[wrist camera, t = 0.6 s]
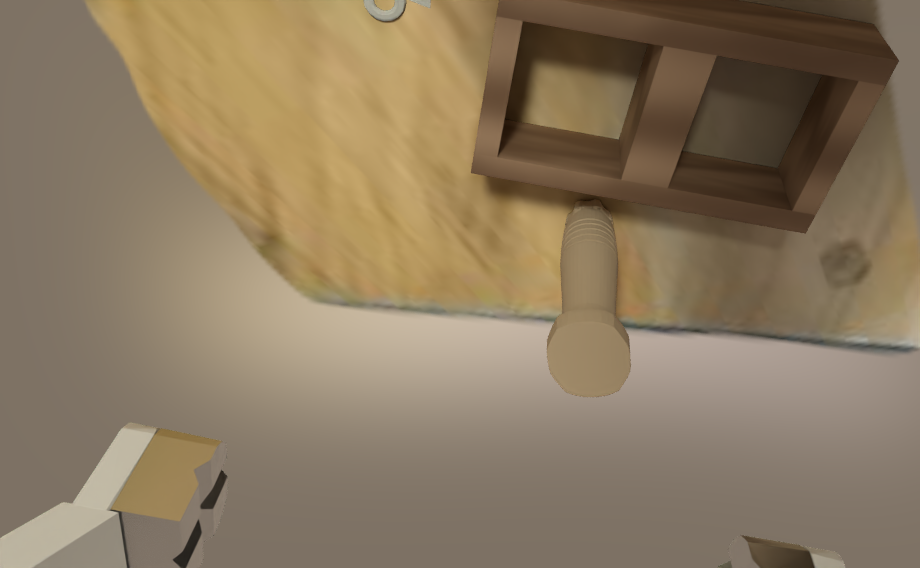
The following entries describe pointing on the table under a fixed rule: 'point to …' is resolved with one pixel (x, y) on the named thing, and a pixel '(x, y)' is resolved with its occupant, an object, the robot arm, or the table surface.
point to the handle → (589, 308)
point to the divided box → (690, 106)
